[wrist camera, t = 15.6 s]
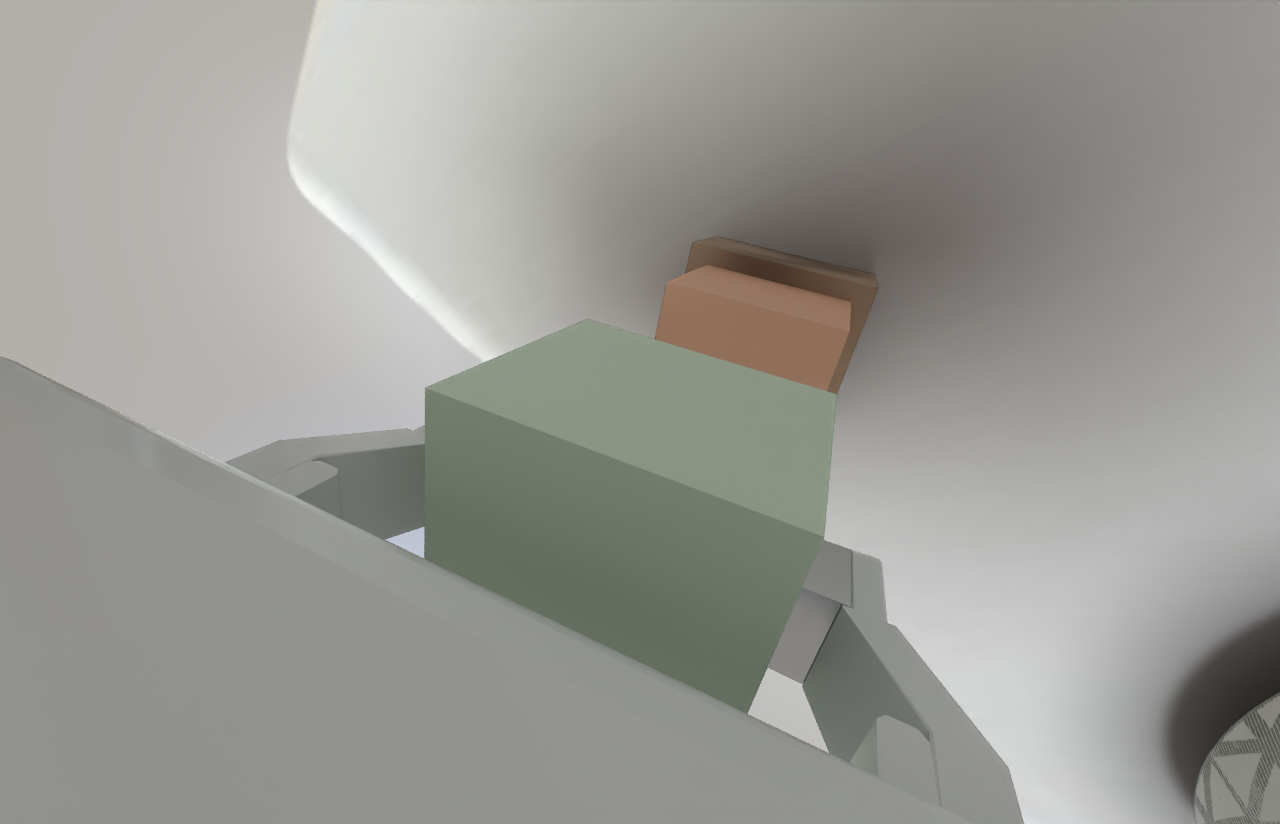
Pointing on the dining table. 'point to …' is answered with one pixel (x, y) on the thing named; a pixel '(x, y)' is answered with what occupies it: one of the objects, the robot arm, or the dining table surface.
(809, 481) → the sage block
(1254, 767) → the planter
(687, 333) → the terracotta block
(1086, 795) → the dining table surface
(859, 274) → the walnut base
